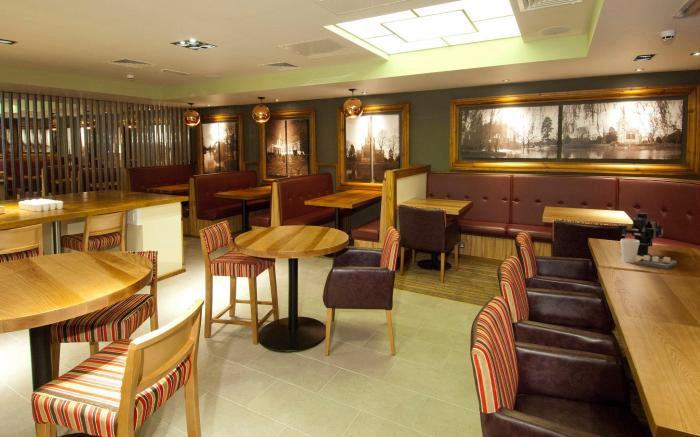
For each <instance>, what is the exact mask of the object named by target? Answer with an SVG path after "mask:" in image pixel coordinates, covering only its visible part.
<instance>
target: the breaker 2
mask: <svg viewBox="0 0 700 437" xmlns="http://www.w3.org/2000/svg"><path fill="white" fill-rule="evenodd" d="M662 259H663V262H667V263H669V262H670V260H671V257H668V256H664V257H663V258H662Z"/></svg>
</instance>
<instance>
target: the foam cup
mask: <svg viewBox="0 0 700 437" xmlns="http://www.w3.org/2000/svg"><path fill="white" fill-rule="evenodd" d="M639 244H640V241H639V240H635V239H634V238H621V239H620V249H621V261H622V263H623V262H624V263H628V264H629V263H631V264H632V263H635V262H636V259H637V256H638V255H637V251H638V247H639Z"/></svg>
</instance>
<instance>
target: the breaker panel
mask: <svg viewBox="0 0 700 437" xmlns="http://www.w3.org/2000/svg"><path fill="white" fill-rule="evenodd" d="M652 259H653V256H650V260H649V261H646V260H643V258H641V259H639V260H637V265H638V266H639V265H640V266H644V267H650V268H656V269H663V270H670V269H671V268H673V267H674V266H676V265H677V263H678V262H677V260H671V259H670V262H669V263H667V262H663V258H659V262H653V261H652Z"/></svg>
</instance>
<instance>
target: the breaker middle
mask: <svg viewBox="0 0 700 437" xmlns="http://www.w3.org/2000/svg"><path fill="white" fill-rule="evenodd" d="M652 258H653V259H652V261H653V262H659V259H660V256H656V255H655V256H652Z"/></svg>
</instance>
